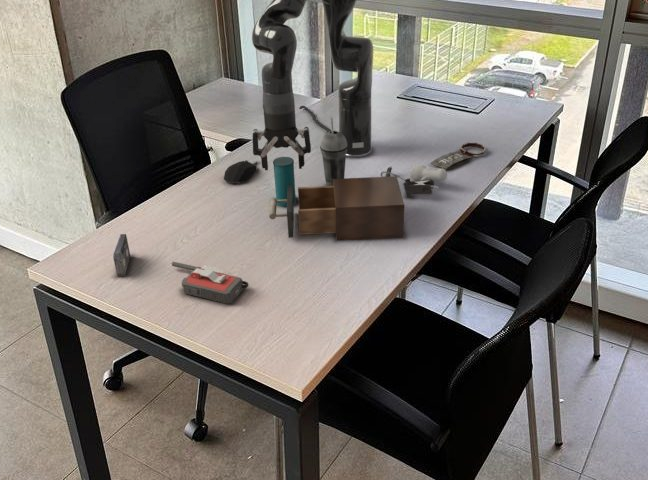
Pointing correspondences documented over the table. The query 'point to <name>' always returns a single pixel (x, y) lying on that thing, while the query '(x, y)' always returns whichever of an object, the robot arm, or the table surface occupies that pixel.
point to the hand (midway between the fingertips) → (283, 168)
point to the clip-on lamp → (421, 179)
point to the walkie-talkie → (211, 283)
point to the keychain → (458, 156)
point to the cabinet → (368, 208)
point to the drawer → (309, 210)
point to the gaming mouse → (239, 172)
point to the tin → (284, 178)
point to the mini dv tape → (121, 255)
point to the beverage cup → (333, 155)
